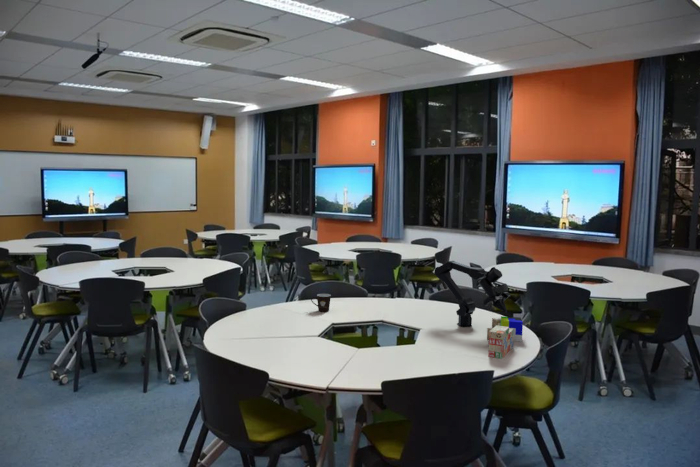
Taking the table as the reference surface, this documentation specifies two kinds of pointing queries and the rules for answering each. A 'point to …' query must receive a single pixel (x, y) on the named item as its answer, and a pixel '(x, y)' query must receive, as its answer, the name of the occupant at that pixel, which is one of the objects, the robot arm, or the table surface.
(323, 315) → the table surface
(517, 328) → the puzzle toy
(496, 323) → the numbered block 1
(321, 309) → the coffee mug
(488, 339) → the numbered block 2
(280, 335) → the table surface
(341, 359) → the table surface
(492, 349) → the stack of blocks
